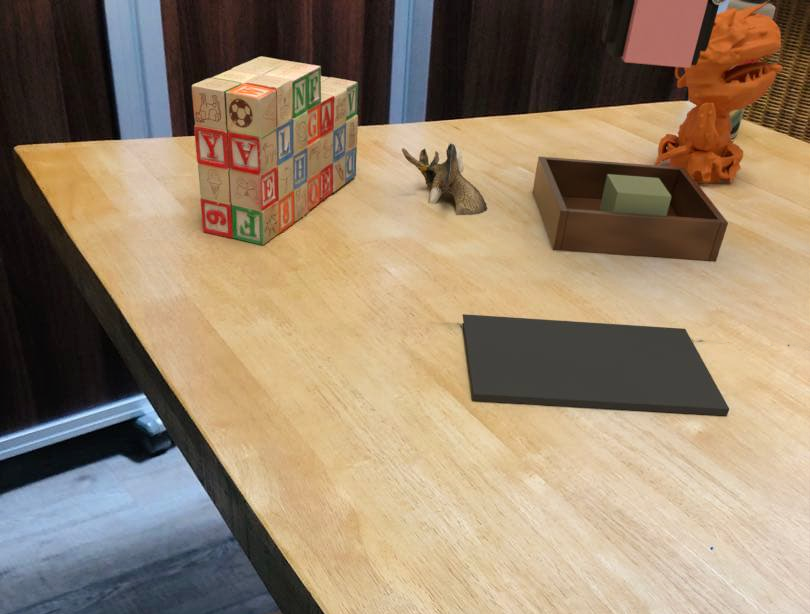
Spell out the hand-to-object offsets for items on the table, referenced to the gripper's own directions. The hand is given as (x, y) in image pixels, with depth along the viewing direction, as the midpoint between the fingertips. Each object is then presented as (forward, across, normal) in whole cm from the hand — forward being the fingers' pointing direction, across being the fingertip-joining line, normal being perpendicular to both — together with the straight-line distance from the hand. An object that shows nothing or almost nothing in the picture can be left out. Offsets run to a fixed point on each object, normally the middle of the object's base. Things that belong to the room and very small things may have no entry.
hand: (651, 54), depth 66 cm
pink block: (0, 0, 0) cm, 0 cm away
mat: (+18, -4, -17) cm, 25 cm away
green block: (+17, +4, +8) cm, 19 cm away
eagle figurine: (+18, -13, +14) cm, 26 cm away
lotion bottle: (+18, +24, +50) cm, 58 cm away
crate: (+18, +4, +11) cm, 21 cm away
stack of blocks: (+18, -29, +12) cm, 36 cm away
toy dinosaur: (+18, +16, +30) cm, 38 cm away
